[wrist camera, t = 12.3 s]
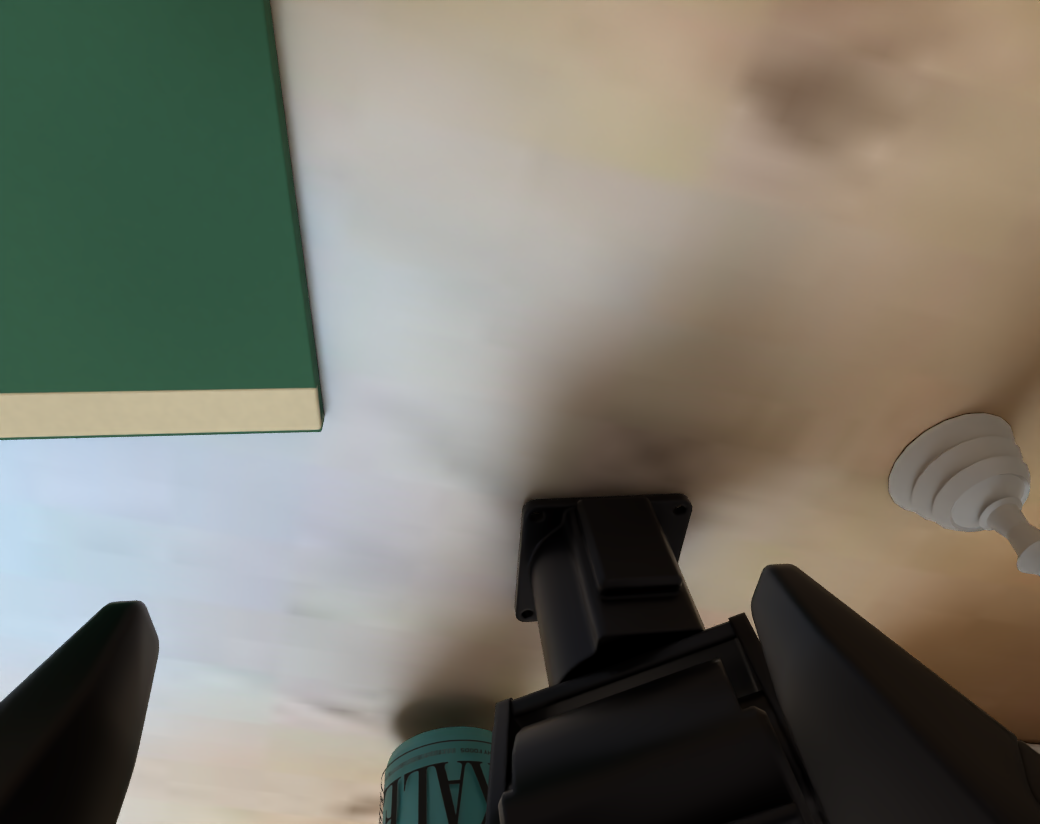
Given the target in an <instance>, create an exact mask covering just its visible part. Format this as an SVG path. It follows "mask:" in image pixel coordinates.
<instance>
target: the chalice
mask: <svg viewBox="0 0 1040 824" xmlns="http://www.w3.org/2000/svg"><path fill="white" fill-rule="evenodd" d="M1029 491H1030V472H1029V469H1028V466H1027V464H1025V463H1024V462H1023V457H1022V454H1021V451H1020V448H1019V446H1018V445H1017V444H1015V440H1014V436H1013V433H1012V429H1011V426H1010V425H1009V424H1008V423H1007V422H1005V421H1004V420H1003V419H1002V418H1001V417H998V416H994V415H991V414H987V413H977V414H965V415H962V416H959V417H955V418H952V419H949V420H946V421H944V422H942V423H940V424H938V425H936V426H935V427H933V428H931V429H929V430H927V431H926V432H924V433H923V434H922V435H921V436H919V437H918V438H917V439H916V440H915V441H913V442H912V443H911V444H910V445H909V446H908V447H907V448H906V449H905V450H904V452H903V453H902V454H901V455H900V457H899V458H898V459H897V461H896V462H895V464H894V467H893V469H892V471H891V474H890V476H889V493H890V495H891V497H892V499H893V501H894V503H896V504H897V505H899V506H900V507H902V508H903V509H905V510H908V511H912V512H916V513H917V514H918V515H920V516H921V517H923V518H924V519H926V520H930V521H934V522H936V523H937V524H939V525H940V526H941V527H943V528H946V529H951V530H956V531H965V532H974V531H982V530H995V531H996V532H998V533H999V534H1001V535H1002V536H1004V537H1006V538H1007V539H1008V540H1009V542H1010V544H1011V545H1012V547H1013V548H1014V550H1015V552H1016V553H1017V555H1018V560H1017V568H1018V570H1020V571H1021V572H1023V573H1029V574H1037V575H1039V576H1040V530H1039V529H1037V528H1036V527H1034V526H1032V525H1031V524H1029V523H1028V521H1027V520H1026V518H1025V517H1024V515H1023V514H1022V512H1021V509H1022V506H1023V504H1024V503H1025V501H1026V499H1027V497H1028V496H1029Z"/></svg>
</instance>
